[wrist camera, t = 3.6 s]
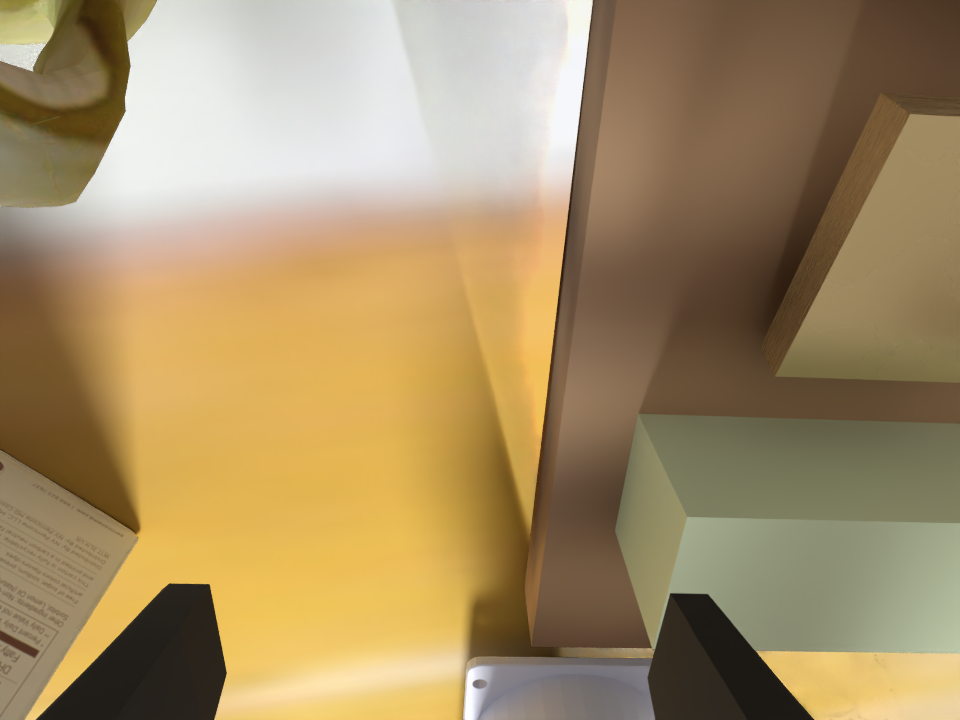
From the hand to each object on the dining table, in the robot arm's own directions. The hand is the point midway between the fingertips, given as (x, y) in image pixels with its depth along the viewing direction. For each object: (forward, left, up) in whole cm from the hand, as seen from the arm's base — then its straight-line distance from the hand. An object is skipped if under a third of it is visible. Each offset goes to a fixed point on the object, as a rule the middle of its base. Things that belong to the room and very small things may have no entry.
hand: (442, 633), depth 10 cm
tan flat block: (+5, -10, -5) cm, 12 cm away
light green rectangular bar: (-2, -11, -7) cm, 13 cm away
